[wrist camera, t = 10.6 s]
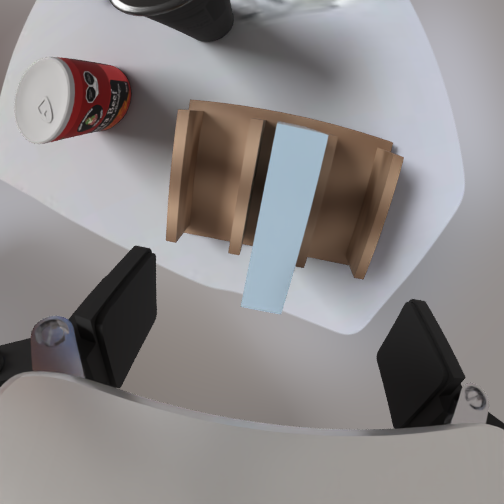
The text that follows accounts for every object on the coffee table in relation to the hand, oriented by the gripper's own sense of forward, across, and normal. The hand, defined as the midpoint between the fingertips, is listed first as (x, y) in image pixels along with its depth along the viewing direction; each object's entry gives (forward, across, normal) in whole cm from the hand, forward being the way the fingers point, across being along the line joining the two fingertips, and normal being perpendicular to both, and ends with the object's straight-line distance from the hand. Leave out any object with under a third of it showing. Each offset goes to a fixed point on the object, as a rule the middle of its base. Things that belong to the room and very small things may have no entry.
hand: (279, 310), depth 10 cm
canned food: (+22, +21, -6) cm, 31 cm away
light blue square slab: (+20, 0, 0) cm, 20 cm away
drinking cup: (+22, +10, -15) cm, 28 cm away
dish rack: (+21, 0, +1) cm, 21 cm away
